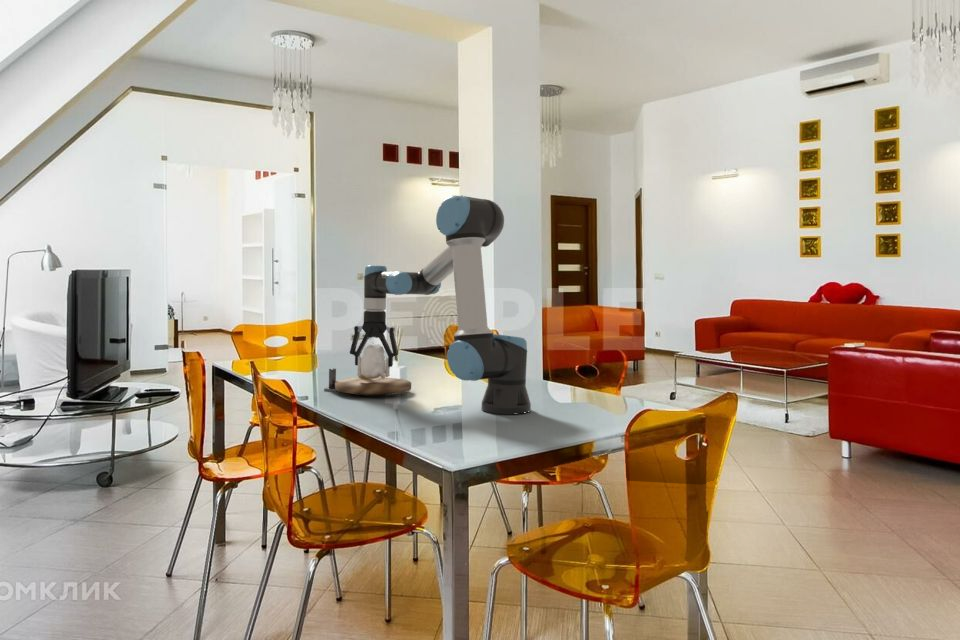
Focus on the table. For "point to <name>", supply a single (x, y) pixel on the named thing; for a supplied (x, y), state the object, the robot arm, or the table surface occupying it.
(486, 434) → the table surface
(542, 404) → the table surface
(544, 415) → the table surface
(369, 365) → the figurine
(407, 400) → the table surface
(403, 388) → the turntable
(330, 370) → the base
